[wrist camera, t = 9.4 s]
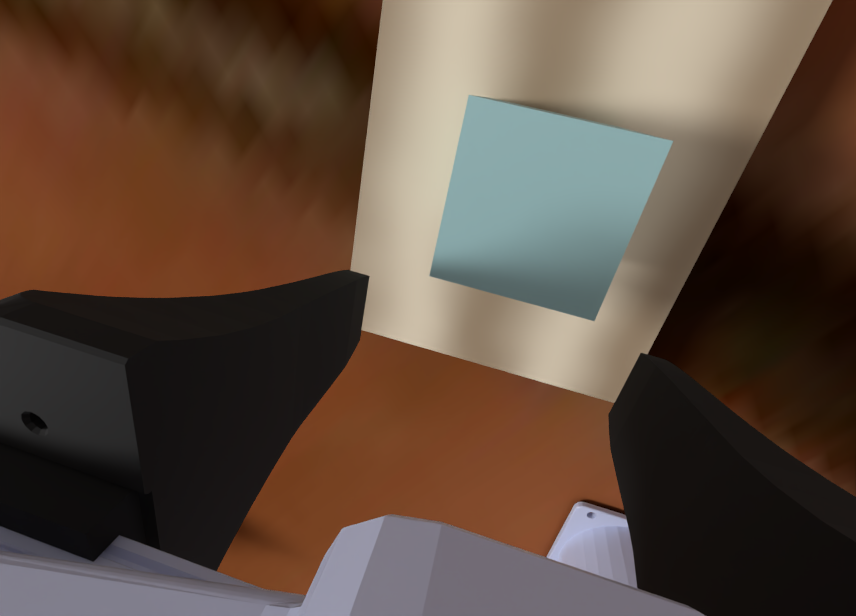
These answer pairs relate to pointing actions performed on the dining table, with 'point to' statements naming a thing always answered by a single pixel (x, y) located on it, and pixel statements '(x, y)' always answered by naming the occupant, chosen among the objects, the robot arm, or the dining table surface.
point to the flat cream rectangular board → (579, 97)
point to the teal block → (543, 204)
